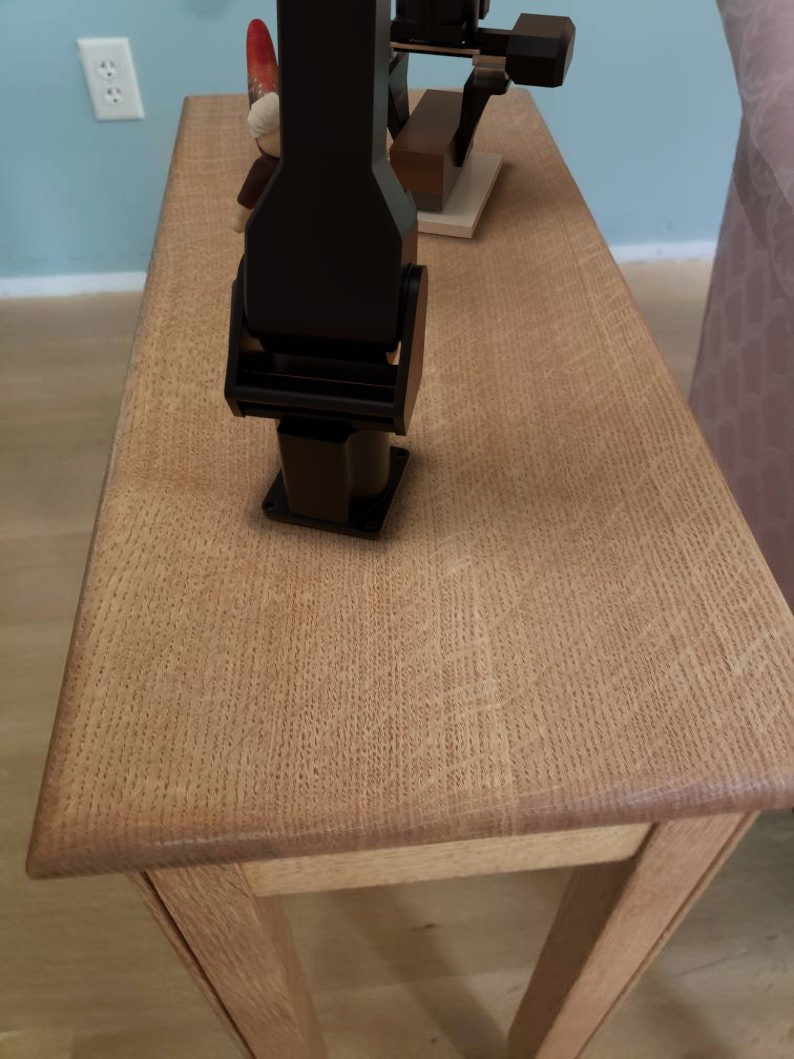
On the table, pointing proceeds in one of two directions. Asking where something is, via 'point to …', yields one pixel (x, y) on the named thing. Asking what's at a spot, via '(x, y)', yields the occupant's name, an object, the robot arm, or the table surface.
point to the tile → (463, 198)
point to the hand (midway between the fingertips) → (433, 162)
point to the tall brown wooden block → (429, 149)
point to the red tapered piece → (260, 64)
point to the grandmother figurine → (268, 135)
